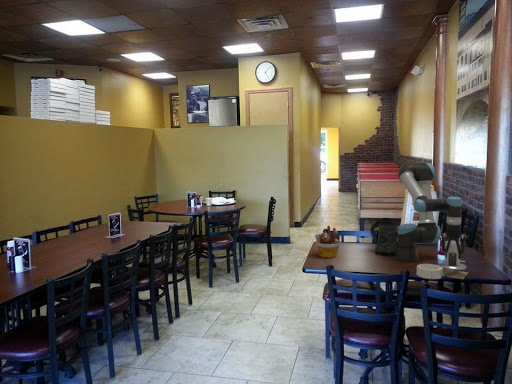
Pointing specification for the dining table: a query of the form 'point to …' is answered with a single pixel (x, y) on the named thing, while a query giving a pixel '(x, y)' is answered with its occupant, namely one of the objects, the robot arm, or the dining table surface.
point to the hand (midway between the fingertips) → (452, 263)
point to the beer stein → (385, 237)
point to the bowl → (429, 271)
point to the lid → (452, 263)
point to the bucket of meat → (328, 243)
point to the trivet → (454, 274)
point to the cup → (452, 248)
